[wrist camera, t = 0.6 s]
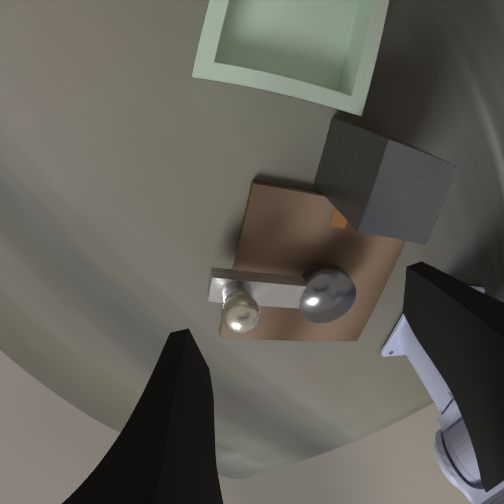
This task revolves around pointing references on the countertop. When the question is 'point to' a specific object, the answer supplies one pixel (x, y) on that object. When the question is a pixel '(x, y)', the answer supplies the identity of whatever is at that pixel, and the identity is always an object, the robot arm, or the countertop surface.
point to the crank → (280, 294)
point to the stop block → (382, 182)
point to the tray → (294, 47)
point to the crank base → (309, 259)
